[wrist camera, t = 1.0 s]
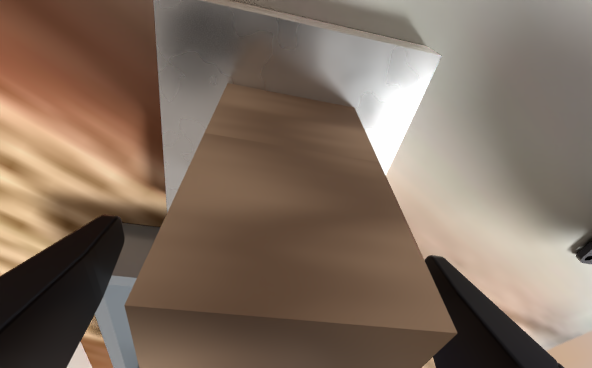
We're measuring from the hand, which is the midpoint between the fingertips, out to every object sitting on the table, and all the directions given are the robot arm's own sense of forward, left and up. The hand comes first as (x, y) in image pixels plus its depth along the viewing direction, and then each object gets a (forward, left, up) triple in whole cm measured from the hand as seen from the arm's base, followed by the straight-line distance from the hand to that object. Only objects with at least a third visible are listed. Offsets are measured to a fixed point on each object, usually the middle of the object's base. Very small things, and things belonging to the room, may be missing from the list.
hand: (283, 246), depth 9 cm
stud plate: (0, 0, -7) cm, 7 cm away
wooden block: (0, 0, -5) cm, 5 cm away
